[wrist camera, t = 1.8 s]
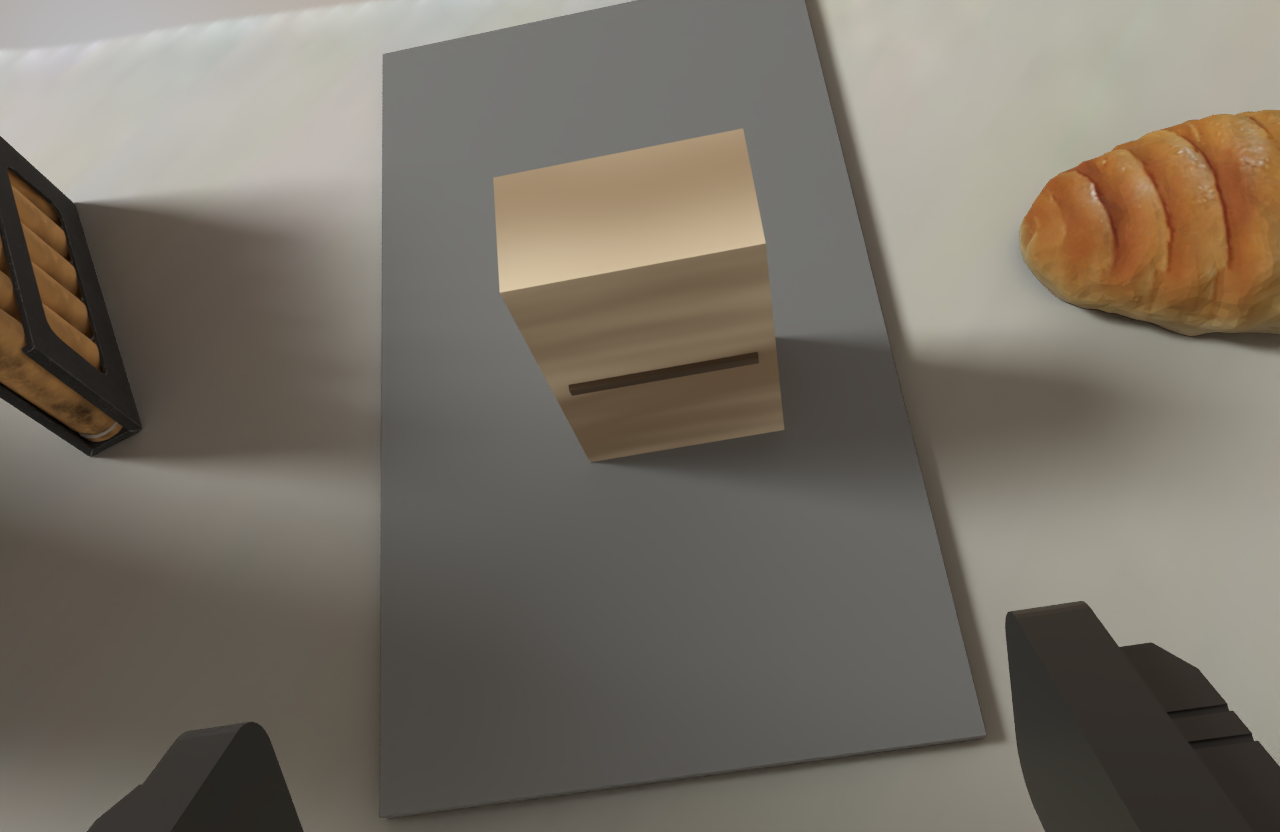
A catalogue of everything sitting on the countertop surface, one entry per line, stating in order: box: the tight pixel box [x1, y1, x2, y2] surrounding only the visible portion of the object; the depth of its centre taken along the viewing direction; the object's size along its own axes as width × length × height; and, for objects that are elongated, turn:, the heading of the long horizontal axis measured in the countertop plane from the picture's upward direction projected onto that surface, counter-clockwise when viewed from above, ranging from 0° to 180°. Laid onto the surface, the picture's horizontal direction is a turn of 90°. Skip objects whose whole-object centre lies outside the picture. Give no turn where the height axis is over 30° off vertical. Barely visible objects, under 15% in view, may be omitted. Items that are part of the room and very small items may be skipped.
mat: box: [380, 0, 986, 819], centre depth 32 cm, size 15×26×1 cm, turn 6°
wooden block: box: [493, 128, 784, 462], centre depth 26 cm, size 3×6×9 cm, turn 96°
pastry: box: [1019, 110, 1280, 336], centre depth 28 cm, size 9×7×4 cm
